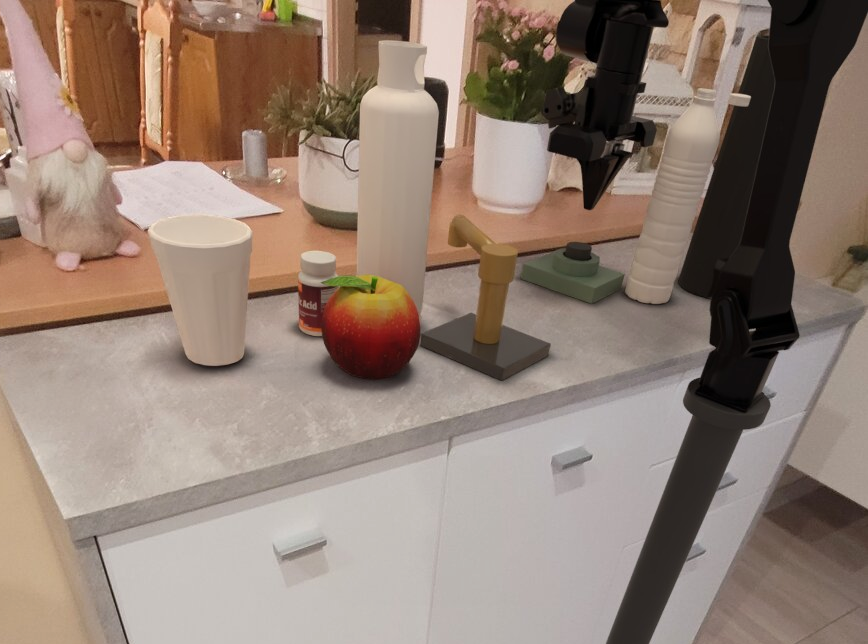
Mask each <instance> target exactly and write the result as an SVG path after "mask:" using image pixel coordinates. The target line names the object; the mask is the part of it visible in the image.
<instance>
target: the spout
mask: <svg viewBox="0 0 868 644" xmlns="http://www.w3.org/2000/svg"><path fill="white" fill-rule="evenodd" d="M447 245H448V246H450V247H453V248H465V247H467V246H468V245H469V246H470V247H471V248H472V249H473V250H474V251H475V252H476V253H477V254H478V255H479V266H478V272H477V277H478V278H479V279H480V281H481V280H483V281H486V282H489V283H493V284H507V283H509V284H511V283H512V282H513V281H514V280H515V279H514V278H515V273H516V266H517V259H518V254H519V251H518V249H517V248H515V247H513V246H511V245H508V244H502V243H496V242H495V241H494V240H492V238H490V237H489V236H488V235H487V234H486V233H484V231H482V230H481V229H480V228H479V227H478V226H477V225H476V224H474V223H473V222H472V221H471V220H469V218H467V217H466V216H465V215H464V214H456V215H455V216H453V218H452V219H451V221H450V222H449V228H448V238H447Z"/></svg>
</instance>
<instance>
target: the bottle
mask: <svg viewBox="0 0 868 644" xmlns="http://www.w3.org/2000/svg"><path fill="white" fill-rule="evenodd" d="M377 47H378V61H379V62H378V63H379V64H378V71H377V78H376V79H377V81H376V84H377V85H375V86H374V87H372V88H370V89H369V90H367V92H366V93H364V95H363V96H362V98H361V101H360V103H359V132H358V133H359V136H358V137H359V138H358V141H359V142H358V179H357V181H358V185H357V186H358V189H357V227H356V230H357V231H356V233H357V235H356V275H355V277H357V276H360V275H374V276H379V277H381V278H384V279H387V280H389V281H392V282H395V283H397V284H400V285H401V286H403V287H404V289H405V290H406V291H407V292H408V293H409V295H410V296H411V298H412V300H413V301H414V303H415V306H416V308H417V311H418V314H419V320H420V331H421V328H422V311H423V306H424V305H423V304H424V293H425V280H426V269H427V257H428V247H429V234H430V233H429V232H430V224H431V223H430V221H431V210H432V200H433V198H432V197H433V187H434V175H435V174H434V173H435V164H436V163H435V162H436V151H437V139H438V128H439V127H438V126H439V117H440V116H439V115H440V111H439V107H438V103H437V102H436V101H435V99H434V98H433V96H431V94H430V93H429V92H428V91H427V90H426V89H425V63H426V58H427V55H428V54H427V53H428V46H427V45H426V44H423V43H418V42H412V41H405V40H390V39H389V40H387V39H385V40H378V46H377Z"/></svg>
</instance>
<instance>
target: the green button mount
mask: <svg viewBox="0 0 868 644" xmlns="http://www.w3.org/2000/svg"><path fill="white" fill-rule="evenodd" d="M565 251H566V247H563V248H558V249H556V250H554V251H553V252H550V253H547V254H545V255H542V256H539V257H537V258H534V259H532V260H530V261H526V262H524V263H523V264H522V270H521V274H520V275H521V276H520V280H523V281H526V282H529V283H532V284H534V285H537V286H540V287H543V288H545V289H548V290H550V291H551V290H552V291H554V292H556V293H559V294H563V295H565V296H568V297H571V298H574V299H577V300H579V301H582V302H585V303H588V304H594V303H596V302H598V301H601V300H603V299H604V298H607V297H609V296H610V295H612V294H614V293H616V292H618V291H620V290H622V287H623V283H624V279H625V276H626V274H625V273H623V272H620V271H618V270H614V269H611V268H608V267H605V266H601V265H600V261H601V260H600V259H601V258H600V256H599V255H597V254H596V253H594V252H592V251H591V254H590V259H589V260H588V261H579V260H573V259H569V258H567V257H565V256H564V255H565Z"/></svg>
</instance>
